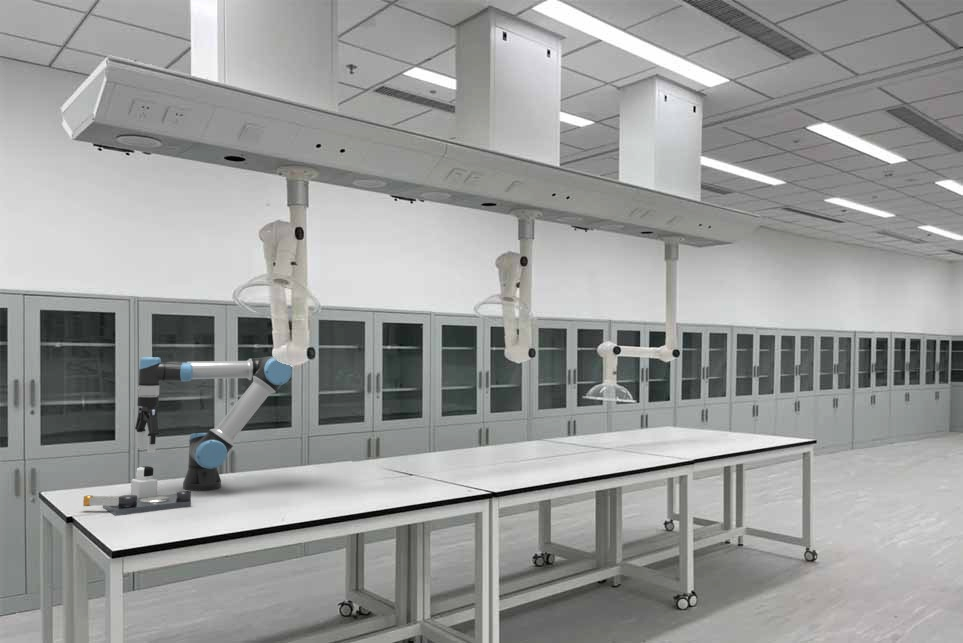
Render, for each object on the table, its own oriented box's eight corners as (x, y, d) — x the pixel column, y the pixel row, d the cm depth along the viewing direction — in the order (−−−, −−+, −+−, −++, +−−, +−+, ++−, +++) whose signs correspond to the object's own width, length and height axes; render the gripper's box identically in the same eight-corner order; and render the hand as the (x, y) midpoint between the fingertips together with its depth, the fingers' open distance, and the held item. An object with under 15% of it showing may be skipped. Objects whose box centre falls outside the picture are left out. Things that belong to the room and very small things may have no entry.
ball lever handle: (139, 503, 261) (139, 494, 261) (133, 507, 255) (133, 498, 255) (87, 503, 259) (87, 494, 259) (79, 507, 253) (80, 497, 253)
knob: (192, 501, 269) (193, 492, 269) (179, 502, 265) (179, 493, 265) (185, 497, 274) (185, 489, 274) (171, 499, 271) (172, 490, 271)
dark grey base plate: (175, 498, 280) (175, 493, 280) (190, 506, 269) (190, 500, 269) (102, 507, 263) (103, 501, 263) (115, 515, 251) (115, 509, 251)
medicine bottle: (148, 495, 286) (149, 464, 286) (157, 497, 281) (158, 467, 282) (130, 497, 280) (131, 466, 281) (138, 500, 276) (140, 469, 276)
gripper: (128, 394, 289) (125, 447, 288) (148, 398, 271) (146, 455, 270) (147, 394, 294) (145, 446, 293) (169, 398, 276) (166, 453, 275)
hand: (145, 450), depth 282 cm, fingers open, 13 cm apart
